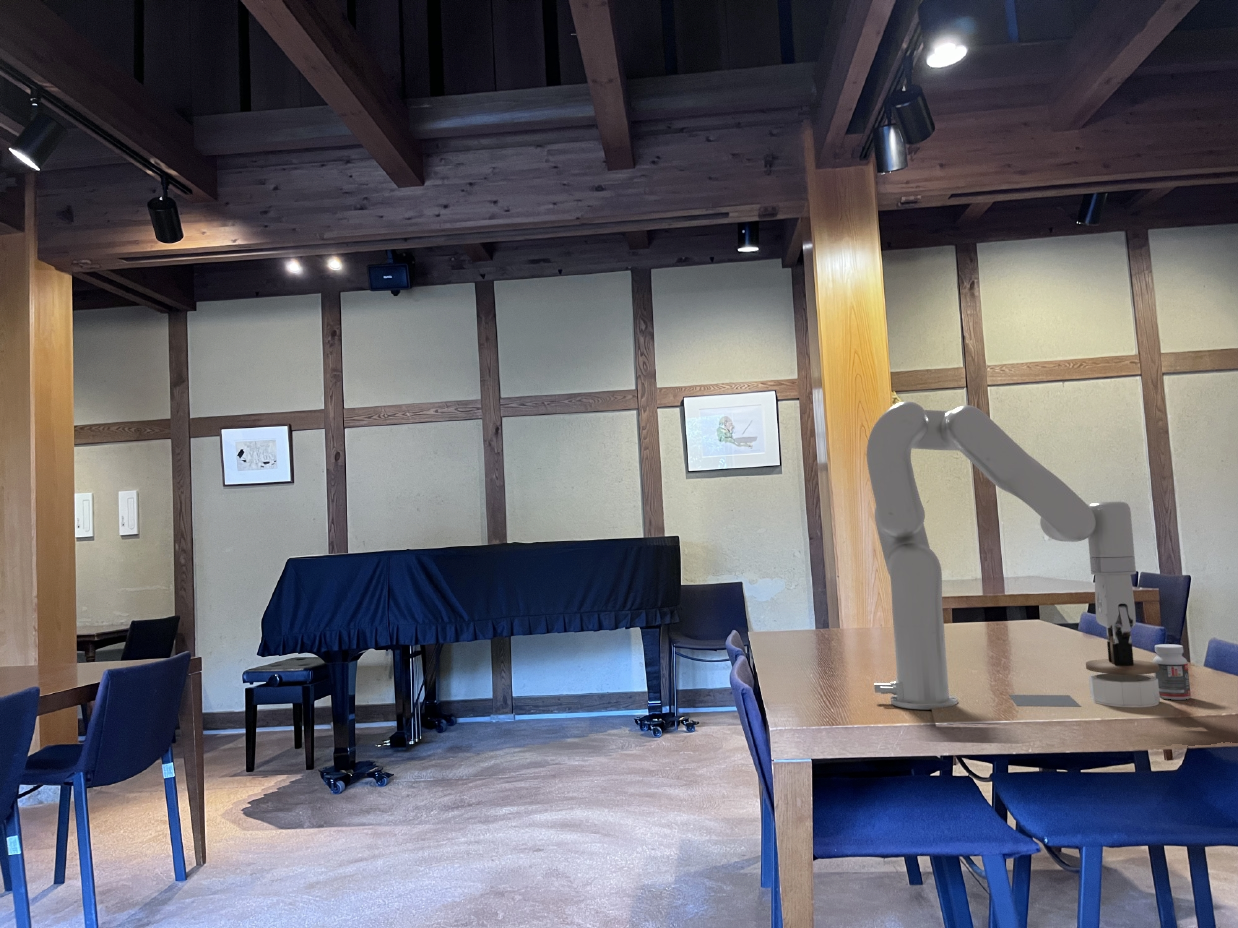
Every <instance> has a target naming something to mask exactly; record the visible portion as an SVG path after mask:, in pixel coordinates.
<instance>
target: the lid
mask: <svg viewBox="0 0 1238 928" xmlns="http://www.w3.org/2000/svg"><path fill="white" fill-rule="evenodd" d="M1112 644H1114V638H1113V636H1111V637H1110V648H1111V659H1112V663H1111V662H1109V659H1108V658H1106V659H1104V658H1103V659H1101V658H1100V659H1093V660H1088V661H1086V662H1085V669H1086V670H1087V671H1090V672H1095V673H1108V674H1125V675H1137V674H1144V675H1149V674H1150V675H1151V674H1154V673H1156V672H1158V671H1159V665H1158V664H1156V663H1153V661H1147V660H1138V659H1133V662H1134V665H1133V666H1116V665H1114V659H1113V648H1112Z"/></svg>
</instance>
